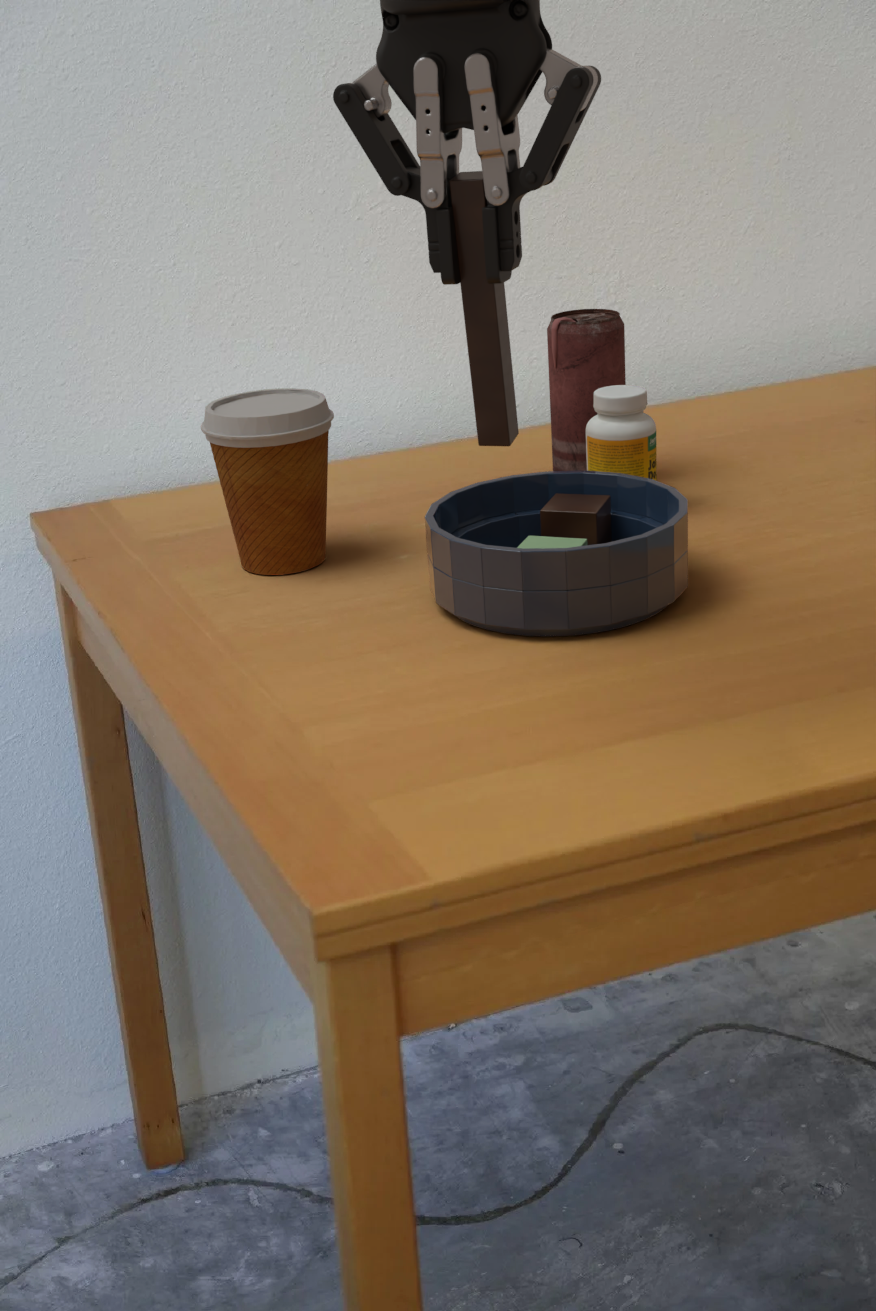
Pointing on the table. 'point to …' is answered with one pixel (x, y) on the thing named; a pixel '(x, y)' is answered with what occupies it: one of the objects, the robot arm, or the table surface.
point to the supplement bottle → (621, 433)
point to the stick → (483, 318)
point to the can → (580, 376)
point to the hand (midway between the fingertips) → (477, 280)
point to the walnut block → (578, 517)
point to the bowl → (556, 555)
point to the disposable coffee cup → (273, 475)
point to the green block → (551, 542)
